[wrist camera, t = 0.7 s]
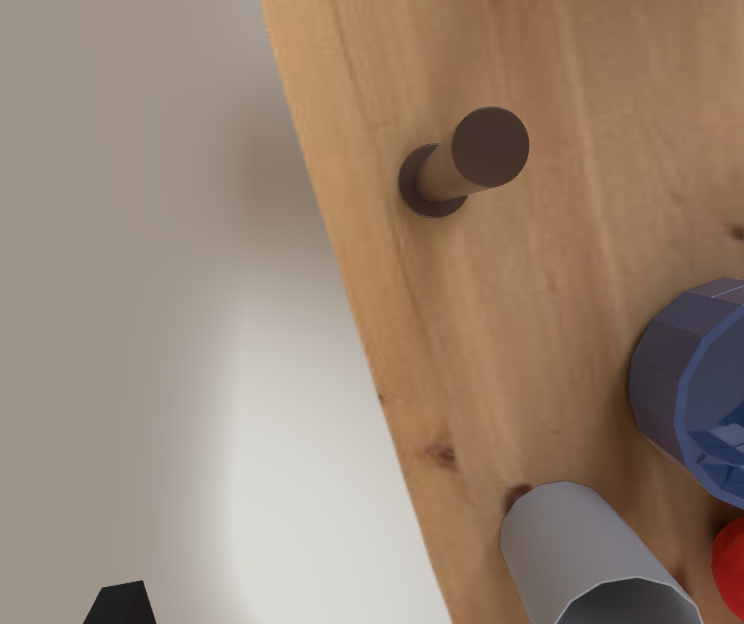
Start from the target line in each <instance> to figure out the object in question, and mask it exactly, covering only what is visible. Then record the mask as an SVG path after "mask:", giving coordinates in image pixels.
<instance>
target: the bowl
mask: <svg viewBox="0 0 744 624" xmlns="http://www.w3.org/2000/svg"><path fill="white" fill-rule="evenodd" d="M628 397H629V400H630V403H631V406H632V409H633V413H634V416H635V419H636V422H637V425H638V429H639V431H640V432H641V433H642V434H643V435H644V437H645V438H646V439H647V440H648V441H649V442H650V443H651V444H652V445H653V446H654V448H655V449H656V450H657V451H658V452H659V453H660V454H661V455H662V456H663V457H664V458H665V459H666V460H668V461H669V462H670V463H671V464H673V465H674V466H675V467H677V468H678V469H679V470H680V471H682V472H683V473H684V474H686V475H687V476H688V477H689V478H690V479H692V480H693V481H694V482H695V483H697V484H698V485H699V486H700V487H702V488H703V489H704V490H705V491H707V492H708V493H709V494H710V495H712V496H713V497H715V498H717V499H719V500H722V501H724V502H726V503H729V504H731V505H733V506H735V507H738V508H740V509H742V510H744V278H728V277H724V278H721V279H718V280H715V281H712V282H710V283H707V284H704V285H702V286H699V287H696V288H693V289H691V290H688V291H685V292H684V293H682V294H681V295H680V296H679V297H678V298H676V299H675V300H674V301H673V302H672V303H671V304H669V305H668V306H667V307H666V308H665V309H664V310H663V311H661V312H660V313H659V314H658V315H657V316H656V317H654V318H653V319H652V321H651V322H650V324H649V326H648V328H647V329H646V331H645V333H644V335H643V337H642V339H641V341H640V342H639V344H638V346H637V348H636V350H635V352H634V354H633V356H632V360H631V369H630V378H629V387H628Z"/></svg>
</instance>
